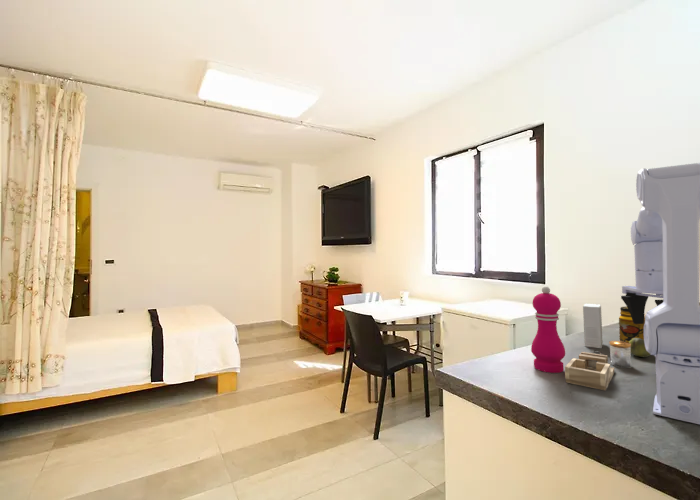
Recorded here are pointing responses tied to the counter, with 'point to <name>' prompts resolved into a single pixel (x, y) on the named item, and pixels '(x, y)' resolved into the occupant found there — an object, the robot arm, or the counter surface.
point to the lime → (638, 347)
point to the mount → (589, 371)
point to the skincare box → (592, 325)
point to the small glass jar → (620, 354)
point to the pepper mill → (547, 334)
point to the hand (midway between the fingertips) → (652, 326)
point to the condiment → (629, 327)
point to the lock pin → (592, 362)
